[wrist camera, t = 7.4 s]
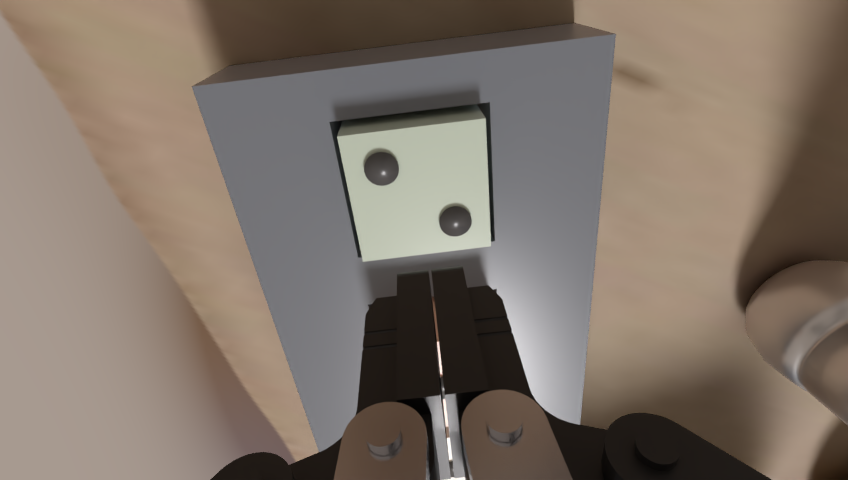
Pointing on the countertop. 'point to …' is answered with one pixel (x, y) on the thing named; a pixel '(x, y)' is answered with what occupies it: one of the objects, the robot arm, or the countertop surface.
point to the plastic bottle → (806, 329)
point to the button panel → (365, 281)
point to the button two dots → (418, 181)
